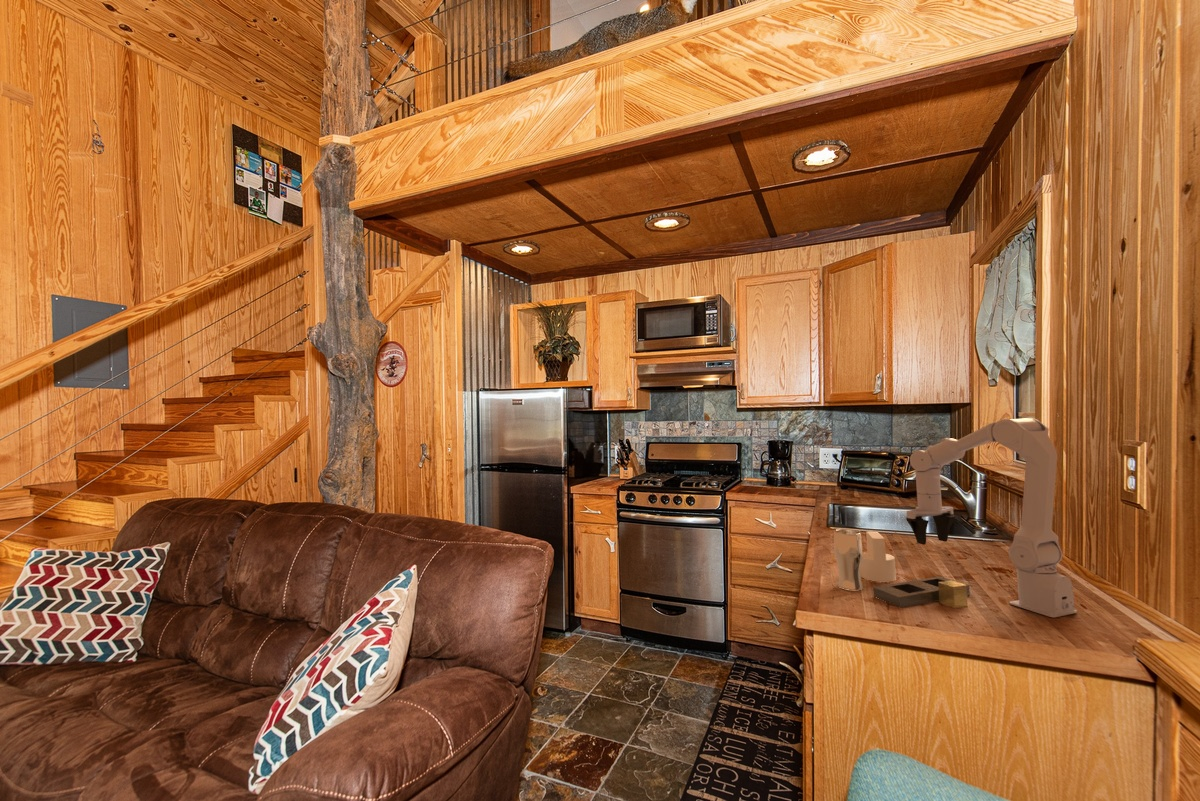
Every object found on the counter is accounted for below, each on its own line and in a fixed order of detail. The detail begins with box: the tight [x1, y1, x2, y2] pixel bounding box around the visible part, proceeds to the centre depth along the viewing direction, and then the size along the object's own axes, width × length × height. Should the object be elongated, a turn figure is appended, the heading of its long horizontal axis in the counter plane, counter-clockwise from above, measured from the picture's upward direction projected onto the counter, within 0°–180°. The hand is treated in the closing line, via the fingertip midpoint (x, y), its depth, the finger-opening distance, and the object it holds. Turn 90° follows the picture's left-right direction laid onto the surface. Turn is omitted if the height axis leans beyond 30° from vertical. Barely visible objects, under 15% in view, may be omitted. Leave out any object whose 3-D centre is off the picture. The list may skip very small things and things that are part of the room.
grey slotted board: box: [872, 575, 971, 609], centre depth 132 cm, size 22×8×2 cm, turn 107°
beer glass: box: [833, 528, 864, 591], centre depth 140 cm, size 7×7×15 cm
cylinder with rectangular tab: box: [861, 530, 897, 583], centre depth 148 cm, size 9×9×12 cm
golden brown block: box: [938, 579, 969, 609], centre depth 126 cm, size 4×4×5 cm
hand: (932, 542), depth 145 cm, fingers open, 7 cm apart
